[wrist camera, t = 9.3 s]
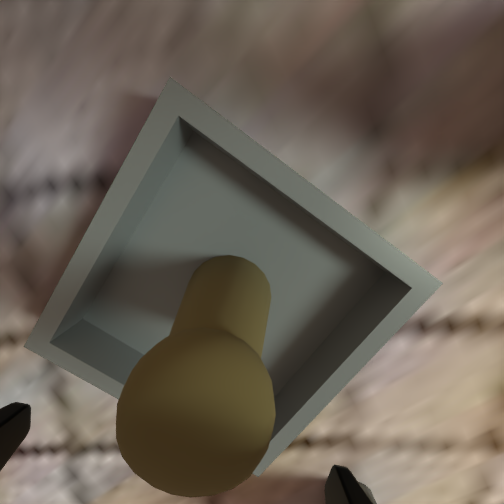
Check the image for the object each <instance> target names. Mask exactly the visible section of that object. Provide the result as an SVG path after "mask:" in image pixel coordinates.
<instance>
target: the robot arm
mask: <svg viewBox="0 0 504 504" xmlns="http://www.w3.org/2000/svg"><path fill="white" fill-rule="evenodd" d="M30 424H31V407H30V405H28V404H24V403H19V402H15V403H11V404H9V405H7V406H5V407H3V408H1V409H0V471H1V470H2V468H3V467H4V466H5V464H6V463H7V462H8V460H9V459H10V457H11V456H12V455H13V453H14V452H15V451H16V449H17V448H18V447H19V445H20V444H21V443H22V441H23V440H24V439H25V437H26V436H27V434H28V432H29V429H30ZM325 500H326V504H373V503H372V501H371V500H370V498H369V497H368V495H367V494H366V493H365V491H364V490H363V488H362V487H361V486H360V484H359V483H358V481H357V480H356V478H355V477H354V476H353V474H352V473H351V471H350V470H349V469H348V468H347V467H344V466H339V465H334V466H333V467H332V469H331V471H330V474H329V476H328V479H327V481H326V484H325Z"/></svg>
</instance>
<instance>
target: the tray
mask: <svg viewBox="0 0 504 504" xmlns="http://www.w3.org/2000/svg"><path fill="white" fill-rule="evenodd" d="M225 255H232V256H237V257H243V258H245V259H247V260H249V261H250V262H252V263H254V264H256V265H257V266H258V267H259V268H260V270H261V271H262V272H263V273H264V274H265V276H266V278H267V280H268V282H269V284H270V290H271V303H270V309H269V315H268V321H267V327H266V332H265V338H264V344H263V350H262V356H261V360H262V362H263V364H264V365H265V367H266V369H267V371H268V374H269V376H270V378H271V380H272V386H273V394H274V402H275V411H276V417H275V422H274V427H273V432H272V436H271V440H270V444H269V447H268V450H267V452H266V453H265V455H264V457H263V458H262V460H261V462H260V463H259V465H258V466H257V467H256V469H255V470H254V472H253V473H252V474H254V475H256V476H258V477H259V476H260V475H261V474H262V473H263V472H264V470H265V469H266V468H267V467H268V466H269V465H270V464H271V463H272V462H273V461H274V460H275V459H276V458H277V457H278V456H279V455H280V454H281V453H282V452H283V451H284V450H285V448H286V447H287V446H288V445H289V444H290V443H291V442H292V441H293V440H294V439H295V438H296V437H297V436H298V435H299V434H300V433H301V432H302V431H303V430H304V429H305V427H306V426H307V425H308V424H309V423H310V422H311V421H312V420H313V419H314V418H315V417H316V416H317V415H318V414H319V413H320V412H321V411H322V410H323V409H324V408H325V407H326V405H327V404H328V403H329V402H330V401H331V400H332V399H333V398H334V397H335V396H336V395H337V394H338V393H339V392H340V391H341V390H342V389H343V388H344V387H345V386H346V384H347V383H348V382H349V381H350V380H351V379H352V378H353V377H354V376H355V375H356V374H357V373H358V372H359V371H360V370H361V369H362V368H363V367H364V366H365V365H366V364H367V362H368V361H369V360H370V359H371V358H372V357H373V356H374V355H375V354H376V353H377V352H378V351H379V350H380V349H381V348H382V347H383V346H384V345H385V344H386V343H387V341H388V340H389V339H390V338H391V337H392V336H393V335H394V334H395V333H396V332H397V331H398V330H399V329H400V328H401V327H402V326H403V325H404V324H405V323H406V322H407V321H408V319H409V318H410V317H411V316H412V315H413V314H414V313H415V312H416V311H417V310H418V309H419V308H420V307H421V306H422V305H423V304H424V303H425V302H426V301H427V300H428V298H429V297H430V296H431V295H432V294H433V293H434V292H435V291H436V290H437V289H438V288H439V287H440V286H441V285H442V284H443V283H442V282H441V281H439V280H438V279H437V278H435V277H434V276H433V275H431V274H430V273H429V272H427V271H426V270H425V269H423V268H422V267H421V266H419V265H418V264H417V263H415V262H414V261H413V260H411V259H410V258H409V257H408V256H406V255H405V254H404V253H402V252H401V251H400V250H398V249H397V248H396V247H394V246H393V245H392V244H390V243H389V242H388V241H386V240H385V239H384V238H382V237H381V236H380V235H378V234H377V233H376V232H374V231H373V230H372V229H370V228H369V227H368V226H367V225H365V224H364V223H363V222H361V221H360V220H359V219H357V218H356V217H355V216H353V215H352V214H351V213H349V212H348V211H347V210H345V209H344V208H343V207H341V206H340V205H339V204H337V203H336V202H335V201H333V200H332V199H331V198H330V197H328V196H327V195H326V194H324V193H323V192H322V191H320V190H319V189H318V188H316V187H315V186H314V185H312V184H311V183H310V182H308V181H307V180H306V179H304V178H303V177H302V176H300V175H299V174H298V173H296V172H295V171H294V170H292V169H291V168H290V167H289V166H287V165H286V164H285V163H283V162H282V161H281V160H279V159H278V158H277V157H275V156H274V155H273V154H271V153H270V152H269V151H267V150H266V149H265V148H263V147H262V146H261V145H259V144H258V143H257V142H255V141H254V140H253V139H251V138H250V137H249V136H248V135H246V134H245V133H244V132H242V131H241V130H240V129H238V128H237V127H236V126H234V125H233V124H232V123H230V122H229V121H228V120H226V119H225V118H224V117H222V116H221V115H220V114H218V113H217V112H216V111H214V110H213V109H212V108H210V107H209V106H208V105H207V104H205V103H204V102H203V101H201V100H200V99H199V98H197V97H196V96H195V95H193V94H192V93H191V92H189V91H188V90H187V89H185V88H184V87H183V86H181V85H180V84H179V83H177V82H176V81H175V80H173V79H172V78H171V77H170V78H169V80H168V82H167V83H166V85H165V87H164V89H163V91H162V93H161V94H160V96H159V98H158V100H157V102H156V104H155V106H154V107H153V109H152V111H151V113H150V115H149V117H148V118H147V120H146V122H145V124H144V126H143V128H142V129H141V131H140V133H139V135H138V137H137V139H136V141H135V142H134V144H133V146H132V148H131V150H130V152H129V153H128V155H127V157H126V159H125V161H124V163H123V165H122V166H121V168H120V170H119V172H118V174H117V176H116V177H115V179H114V181H113V183H112V185H111V187H110V189H109V190H108V192H107V194H106V196H105V198H104V200H103V201H102V203H101V205H100V207H99V209H98V211H97V212H96V214H95V216H94V218H93V220H92V222H91V224H90V225H89V227H88V229H87V231H86V233H85V235H84V236H83V238H82V240H81V242H80V244H79V246H78V248H77V249H76V251H75V253H74V255H73V257H72V259H71V260H70V262H69V264H68V266H67V268H66V270H65V272H64V273H63V275H62V277H61V279H60V281H59V283H58V284H57V286H56V288H55V290H54V292H53V294H52V295H51V297H50V299H49V301H48V303H47V305H46V307H45V308H44V310H43V312H42V314H41V316H40V318H39V319H38V321H37V323H36V325H35V327H34V329H33V331H32V332H31V334H30V336H29V338H28V340H27V342H26V343H25V345H24V347H25V348H27V349H29V350H31V351H32V352H34V353H36V354H38V355H40V356H41V357H43V358H45V359H47V360H49V361H50V362H52V363H54V364H56V365H58V366H59V367H61V368H63V369H65V370H67V371H68V372H70V373H72V374H74V375H76V376H77V377H79V378H81V379H83V380H85V381H86V382H88V383H90V384H92V385H94V386H95V387H97V388H99V389H101V390H103V391H104V392H106V393H108V394H110V395H112V396H113V397H115V398H117V399H119V398H120V395H121V392H122V389H123V387H124V385H125V383H126V381H127V379H128V377H129V375H130V373H131V371H132V370H133V368H134V367H135V365H136V364H137V363H138V361H139V360H140V359H141V358H142V357H143V356H144V355H145V354H146V353H147V352H148V351H149V350H150V349H152V348H153V347H154V346H155V345H156V344H157V343H159V342H160V341H161V340H163V339H164V338H165V337H168V336H169V334H170V331H171V328H172V326H173V323H174V320H175V318H176V315H177V312H178V310H179V307H180V304H181V302H182V299H183V296H184V293H185V291H186V288H187V285H188V283H189V281H190V279H191V277H192V275H193V273H194V271H195V270H196V269H197V268H198V267H199V266H200V265H201V264H202V263H203V262H205V261H208V260H210V259H212V258H214V257H217V256H225Z"/></svg>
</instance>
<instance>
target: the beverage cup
mask: <svg viewBox="0 0 504 504" xmlns="http://www.w3.org/2000/svg"><path fill="white" fill-rule="evenodd" d="M358 483H359V482H358ZM359 484H360V486H361V487H362V488H363V490H364V491H365V493H366V494H367V495H368V497H369V498H370V500H371V501H372V503H373V504H377V503H376V501H375V499H374V497H373V495H372V492H371V490H370V489H369V488H368V487H367V486H366V485H364V484H361V483H359ZM325 504H326V500H325Z"/></svg>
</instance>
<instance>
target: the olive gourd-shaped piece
mask: <svg viewBox="0 0 504 504" xmlns="http://www.w3.org/2000/svg"><path fill="white" fill-rule="evenodd" d="M270 303H271V290H270V284H269V282H268V280H267V278H266V276H265V274H264V273H263V272H262V271H261V270H260V268H259V267H258V266H257V265H256V264H254V263H252V262H250V261H249V260H247V259H245V258H243V257H237V256H232V255H225V256H217V257H214V258H212V259H210V260H208V261H205V262H203V263H202V264H201V265H200V266H199V267H198V268H197V269H196V270H195V271H194V273H193V275H192V277H191V279H190V281H189V283H188V285H187V288H186V291H185V293H184V296H183V299H182V302H181V304H180V307H179V310H178V312H177V315H176V318H175V320H174V323H173V326H172V328H171V331H170V334H169V336H168V337H165V338H164V339H163V340H161V341H160V342H159V343H157V344H156V345H155V346H154V347H153V348H152V349H150V350H149V351H148V352H147V353H146V354H145V355H144V356H143V357H142V358H141V359H140V360H139V361H138V363H137V364H136V365H135V367H134V368H133V370H132V371H131V373H130V375H129V377H128V379H127V381H126V383H125V385H124V387H123V389H122V392H121V395H120V398H119V401H118V403H117V416H116V439H117V442H118V445H119V449H120V452H121V455H122V457H123V459H124V460H125V461H126V463H127V464H128V465H129V467H130V468H131V469H132V470H133V472H134V473H135V474H137V475H138V476H139V477H141V478H142V479H143V480H145V481H146V482H147V483H149V484H150V485H151V486H153V487H155V488H157V489H159V490H162V491H164V492H167V493H169V494H172V495H179V496H185V497H202V496H212V495H216V494H218V493H221V492H224V491H227V490H230V489H233V488H235V487H236V486H238V485H239V484H240V483H242V482H243V481H245V480H246V479H248V478H249V477H250V476H251V474H252V473H253V472H254V470H255V469H256V467H257V466H258V465H259V463H260V462H261V460H262V458H263V457H264V455H265V453H266V452H267V450H268V447H269V444H270V440H271V436H272V432H273V427H274V422H275V417H276V411H275V402H274V394H273V386H272V380H271V378H270V376H269V374H268V371H267V369H266V367H265V365H264V364H263V362H262V360H261V356H262V350H263V344H264V338H265V332H266V327H267V321H268V315H269V309H270Z"/></svg>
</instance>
